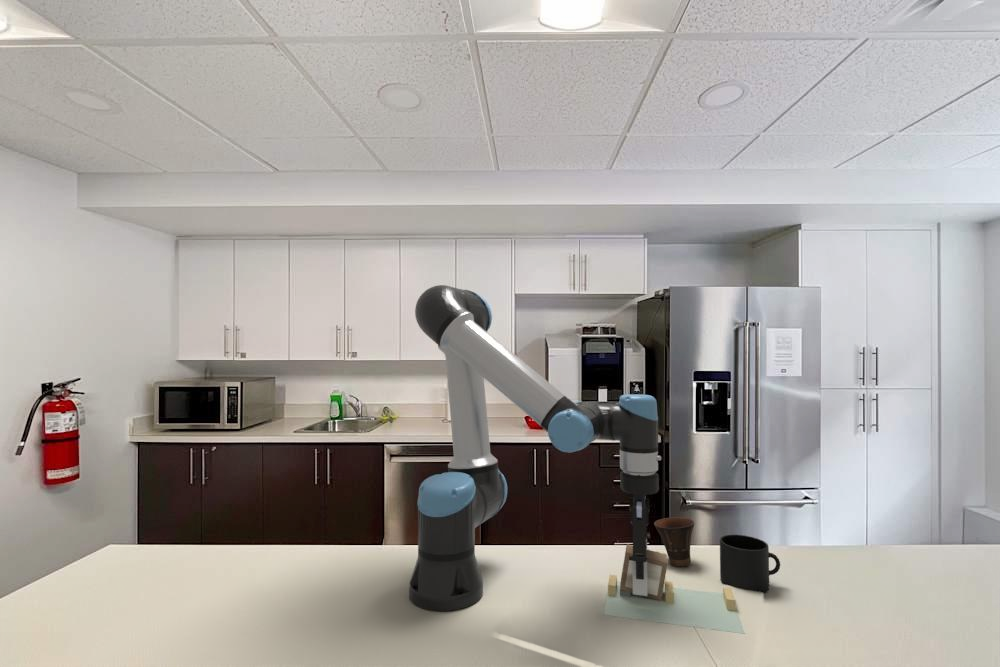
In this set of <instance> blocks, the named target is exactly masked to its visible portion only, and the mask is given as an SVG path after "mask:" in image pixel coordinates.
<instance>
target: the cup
mask: <svg viewBox="0 0 1000 667" xmlns="http://www.w3.org/2000/svg"><path fill="white" fill-rule="evenodd" d="M653 525H654V527H655V529H656V530H657V532H658V534H659V537H660V538H661V540H662V543H663V545H664V548H665V551H666V555H667V558H668V562H669V564H670V565H671V566H673V567H674V566H675V567H687V566H689V565H691V563H692V560H691V543H692V535H693V530H694V526H695V521H694V520H693V519H691V518H687V517H680V516H677V517H675V516H674V517H665V518H661V519H658V520H655V521H654V522H653Z"/></svg>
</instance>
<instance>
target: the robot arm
mask: <svg viewBox="0 0 1000 667" xmlns="http://www.w3.org/2000/svg"><path fill="white" fill-rule="evenodd" d="M414 313H415V320H416V323H417V324H418V326H419V329H420V330H421V331H422V332H423V333H424V334H425V335H426V336H428V338H429V339H430V340H432V341H433V342H434V343H435V344H436V345H437V348H438V350H440V351H441V352H442V353H443V354H444V356H445V357H444V358H445V364H446V379H447V391H448V403H449V412H450V413H449V414H450V426H451V438H452V449H453V450H452V451H453V458H451V460H450V461H449V463H448V464H447V469H448V472H442V473H441V474H439V473H438V474H433V475H430V476H429V477H427V478H426V479H424V480H423V481H422V482H421V483H420V486H419V488H418V497H417V504H416V505H417V517H418V518H417V533H418V534H417V559H416V561H415V565H414V568H413V572H412V575H411V578H410V581H409V585H408V586H409V588H408V589H409V591H408V597H409V600H410V601H411V602H412V604H414V605H415V606H417V607H419V608H422V609H425V610H428V611H439V612H442V611H443V612H445V611H447V612H448V611H449V612H450V611H455V610H460V609H464V608H467V607H470V606H472V605H474V604H475V603H477V602H479V600H480V599H481V598H482V597H483V594H484V580H483V576H482V574H481V571H480V570H481V569H480V567H479V563H478V561H477V558H476V553H475V552H476V551H475V550H476V549H475V543H476V541H475V540H476V539H475V536H476V535H475V534H476V532H475V531H476V530H475V529H476V528H478V527H479V526H480V525H481V524H483V523H485V522H486V521H488V520H490V519H491V518H493V517H494V516H495V515H497V514H498V512H500V510H501V509H502V507H503V506H504V505H505V503H506V501H507V497H508V484H507V480H506V478H505V476H504V474H503V473H502V472H501V471H500V469H499V461H498V459H497V458H496V457H495V456H494V455H493V453H491V443H490V442H491V441H490V434H489V433H490V431H489V423H488V412H487V411H488V408H487V400H486V390H485V389H486V388H485V380H486V381H487V382H488V383H490V384H491V385H492V386H493V387H494V388H495V389H497V390H498V391H499V392H500V393H501V394H503V396H505V397H507V398H506V399H508V400H510V401H511V402H512V403H513V404H515V406H516V407H517V408H519V409H520V410H521V411H523V412H524V413H525V414H526V415H527V416H528V417H530V418H531V419H532V420H533V421H534V422H535V423H536V424H538V425H539V426H540V428H543V429H544V430H545V431H546V432H547V436H548V438H549V440H550V441H549V442H550V443H551V444H552V446H554V448H556V449H557V450H559V451H560V452H563V453H575V452H578V451H579V452H580V451H581V450H584V449H585V448H587V447H589V445H590V444H591V443H592V442H594V441H595V440H600V441H601V440H603V441H613V442H614V441H619V468H620V470H621V471H620V474H619V476H620V478H619V479H620V480H619V482H620V483H619V484H620V489H621V490H622V491H623V492H624V493H626V494H631V495H632V497H630V498H629V503H628V504H629V508H628V509H629V511H630V524H631V525H632V546H633V556H629V560H631V561H632V569H633V594H635V595H643V596H647V557H646V549H647V550H648V539H650V538H651V533H650V532H647V530H648V528H647V527H648V525H649V513H650V509H651V508H650V506H651V505H650V503H651V502H650V499H649V498H646V497H647V495H655V494H657V493H658V492H659V490H660V486H659V484H660V483H659V481H660V478H659V477H660V476H659V474H658V473H657V471H658V470H659V462H658V461H660V462H661V460H662V456H661V455H658V454H659V416H658V403H657V399H656V398H655V397H654V396H652V395H649V394H629V393H628V394H622V395H620V396H619V401H618V403H596V402H595V403H594V402H591V403H590V402H583V401H578V402H577V401H576V402H574V401H572V400H571V399H570V398H568V396H566V395H565V394H564V393H563V392H562V391H560V390H559V389H558V388H556V387H555V386H554V385H553V384H551V383H550V382H549V381H548V380H547V379H545V378H544V377H543V376H541V374H539V373H538V372H537V371H536V370H535V369H533V368H532V367H530V366H529V365H528V364H527V363H525V361H523V360H522V359H521V358H519V357H518V355H516V354H515V353H513V351H511V350H510V349H508V348H507V347H506V345H505V346H504V345H503V344H502V343H501V342H500V341H499V340H498V339H496V338H495V337H494V336H493V335H491V334H490V333H489V332H488V331H489V329H490V328H491V325H492V320H493V314H492V310H491V307H490V305H489V303H488V301H487V300H486V299H485V298H484V297H482V296H481V295H480V294H477V293H476V292H474V291H472V290H468V289H462V288H457V287H453V286H449V285H446V284H441V285H440V284H439V285H438V284H437V285H434V286H431V287H429V288H428V289H426V290H424V291H423V292H422V293H421V294H420V296H419V298H418V299H417V301H416V304H415V310H414ZM639 554H643V555H639Z"/></svg>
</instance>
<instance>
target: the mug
mask: <svg viewBox="0 0 1000 667" xmlns="http://www.w3.org/2000/svg"><path fill="white" fill-rule="evenodd" d="M769 558H771V559H774V560H773V561H775V567H774V568H773V569H771V570H770V560H769ZM780 568H781V562H780V559H779V558H778V556H777V555H776V554H775V553H772V552H769V545H768V543H767V542H766V541H764V540H761V539H759V538H757V537H753V536H749V535H745V534H726V535H723V536H721V537H720V538H719V572H720V574H719V576H720V582H721V584H722V585H726V586H729V587H733V588H736V589H738V590H739V589H740V590H744V591H751V592H752V591H754V592H758V593H763V594H766V593H768V591H769V590H770V576H773V575H775V574H777V573H778V572H779V570H780Z"/></svg>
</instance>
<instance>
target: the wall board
mask: <svg viewBox="0 0 1000 667" xmlns="http://www.w3.org/2000/svg"><path fill="white" fill-rule="evenodd" d="M620 583H621V580H618V575H616V574H615V575H614V574H609V578H608V582H607V591H606V597H605V598H606V599H605V604H604V611H603V616H609V617H617V618H626V619H630V620H631V619H632V620H640V621H647V622H654V623H662V624H668V625H669V624H670V625H676V626H677V625H678V626H683V627H689V628H691V627H692V628H699V629H705V630H713V631H720V632H728V633H735V634H743V635H745V634H746V633H745V629H744V627H743V624H742V622H741V619H740V615H739V613H738V610H737V606H736V598H735V595H734V592H733V590H732V588H730V587H729V588H728V587H722V593H721V592H713V591H705V590H695V589H687V588H678V587H674V584H673V581H668V580H667V581H666V580H665V581H664V588H663V594H662V600H661V601H659V600H656V599H652V598H649V597H645V596H642V595H635V594H633V593H631V592H628V591H625V590H621V589H620Z"/></svg>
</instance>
